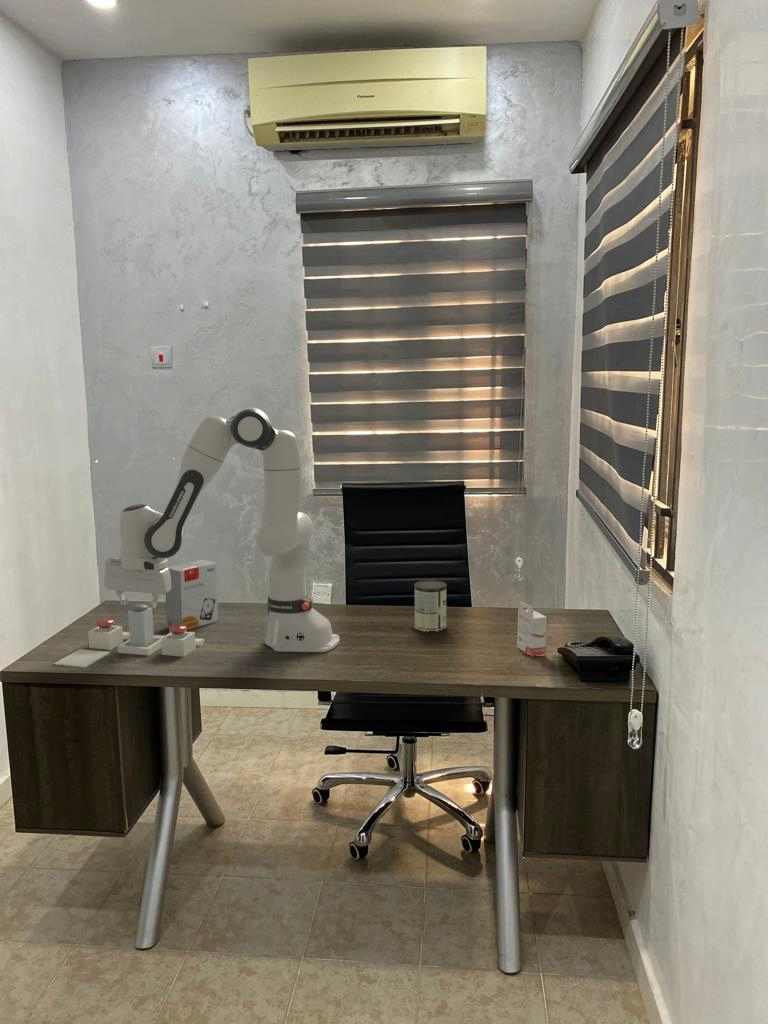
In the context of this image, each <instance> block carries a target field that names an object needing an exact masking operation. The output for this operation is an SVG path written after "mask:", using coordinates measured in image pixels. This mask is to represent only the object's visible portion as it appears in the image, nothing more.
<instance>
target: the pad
mask: <svg viewBox="0 0 768 1024" xmlns="http://www.w3.org/2000/svg"><path fill="white" fill-rule="evenodd" d="M110 654H111V653H110V651H103V650H93V649H81V648H80V649H77V650H75V651H74V652H72V653H70V654H68V655H66V656H64V657H63V658H61V659H59V660H57V661H56V662H54V663H53V665H54V664H55V665H54V666H61V665H63V666H62V667H72V668H83V669H85V668H88V667H89V666H91V665H93V664H94V663H96V662H98V661H99V660H101V659H103V658H105V657H106V656H108V655H110Z"/></svg>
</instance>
